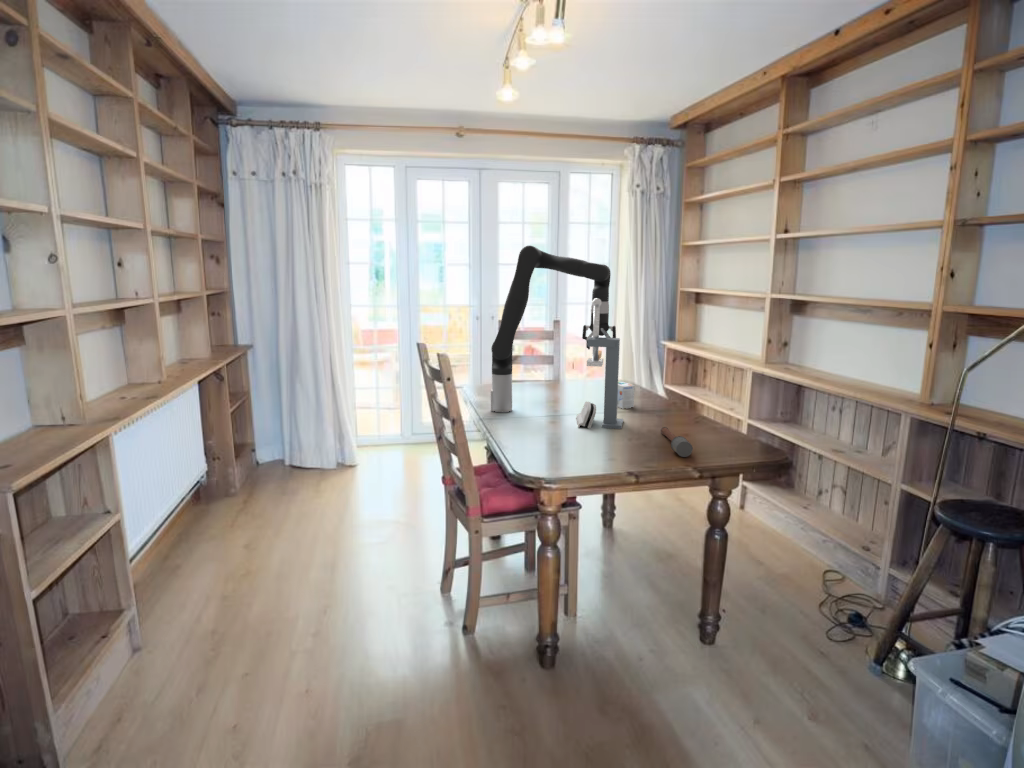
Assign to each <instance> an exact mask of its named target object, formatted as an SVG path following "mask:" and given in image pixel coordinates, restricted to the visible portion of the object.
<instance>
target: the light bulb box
mask: <svg viewBox="0 0 1024 768" xmlns="http://www.w3.org/2000/svg"><path fill="white" fill-rule="evenodd" d="M635 386H636V385H634V384H631V383H628V382H624V381H618V399H617V408H619V409H621V408H622V410H624V408H626V409H632V408H631V407H633V408H634V407H635V406H634V405H635Z"/></svg>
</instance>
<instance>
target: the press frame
mask: <svg viewBox="0 0 1024 768" xmlns="http://www.w3.org/2000/svg"><path fill="white" fill-rule="evenodd" d="M620 340H621V339H620V337H616V338H612V337H611V338H606V337H602V336H599V339H593V336H592V337H589V339H588V342H587V341H586V344H587V347H590V348H591V347H592V348H593V347H599V348H605V369H604V370H605V372H604V374H605V375H604V376H605V378H604V399H603V400H604V403H603V420H602V423H601V428H602V429H614V428H615V429H617V430H622V428H623V425H624V419H623V418H617V417H618V407H617V399H618V382H619V374H620V373H619V368H620V366H619V364H620V347H621V346H620V344H621V342H620ZM587 347H586V348H587ZM615 429H614V430H615Z"/></svg>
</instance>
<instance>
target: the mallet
mask: <svg viewBox="0 0 1024 768" xmlns="http://www.w3.org/2000/svg"><path fill="white" fill-rule="evenodd" d="M660 434H662V435H663V436H665V437H667V439H668V440H669V441H670V447H671V449H672V451H673V452H675V453H676V454H677V455H678V456H679V457H681V458H687V457H690V456H691V455H692V453H693V449H694V448H693V445H692V444H691V443H690V442H689V441H688V440H687V438H686V437H684V436H682V435H678V436H676V435H675V434H673V433H672V432H671V431H670V430H669V428H668V427H667V426H664V427H662V428H661V429H660Z"/></svg>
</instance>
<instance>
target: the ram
mask: <svg viewBox="0 0 1024 768" xmlns="http://www.w3.org/2000/svg"><path fill="white" fill-rule="evenodd" d="M592 303H593V305H594V318H593V336H592V337H593V339H599V337H600V335H599V317H600V305H601V300H600V299H599V298H595V299H594V300H593V302H592V301H591V304H592ZM599 348H600V347H592V353H591V354H592V357H589V358H588V359H587V360H586V366H587V367H597V368H599V367H603V365H604V358H602V356H603V355H602V350H599Z"/></svg>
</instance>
